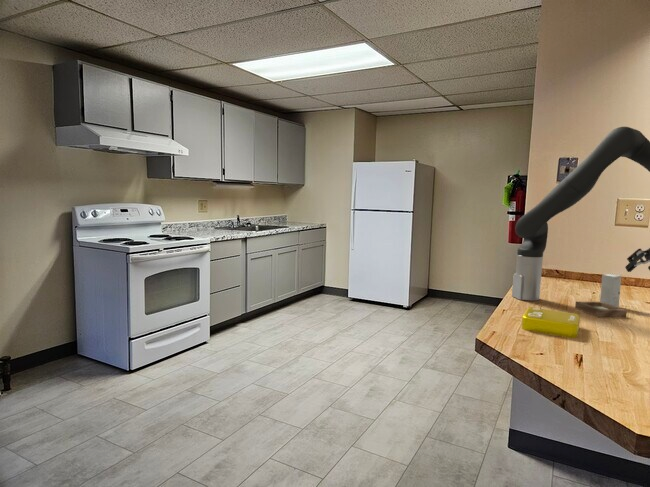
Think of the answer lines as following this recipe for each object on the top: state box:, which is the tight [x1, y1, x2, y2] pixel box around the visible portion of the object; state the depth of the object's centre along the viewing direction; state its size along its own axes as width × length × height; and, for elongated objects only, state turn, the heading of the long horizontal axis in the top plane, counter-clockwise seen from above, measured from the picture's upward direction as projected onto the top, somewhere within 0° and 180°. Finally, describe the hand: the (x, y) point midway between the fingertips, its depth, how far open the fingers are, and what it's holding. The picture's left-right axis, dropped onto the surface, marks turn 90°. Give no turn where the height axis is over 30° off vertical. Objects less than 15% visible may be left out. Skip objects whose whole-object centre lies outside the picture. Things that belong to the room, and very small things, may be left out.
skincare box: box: [599, 273, 622, 308], centre depth 160 cm, size 6×4×12 cm
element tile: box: [521, 307, 581, 339], centre depth 133 cm, size 15×15×5 cm
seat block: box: [574, 301, 628, 319], centre depth 152 cm, size 10×12×2 cm
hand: (638, 269), depth 147 cm, fingers open, 8 cm apart
